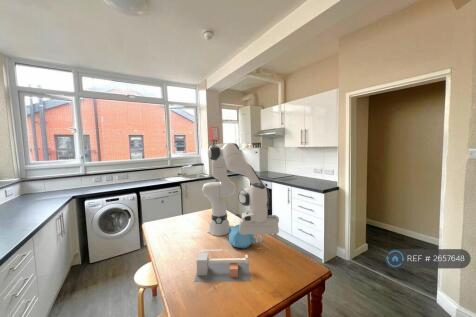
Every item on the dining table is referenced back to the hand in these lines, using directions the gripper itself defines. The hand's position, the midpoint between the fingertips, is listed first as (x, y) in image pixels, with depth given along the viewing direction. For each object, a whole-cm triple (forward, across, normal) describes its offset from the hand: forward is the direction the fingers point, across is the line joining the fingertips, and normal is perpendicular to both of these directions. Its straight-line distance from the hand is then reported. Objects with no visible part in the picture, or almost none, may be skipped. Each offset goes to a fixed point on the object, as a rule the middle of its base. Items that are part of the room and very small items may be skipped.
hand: (258, 241), depth 98 cm
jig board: (+16, +19, 0) cm, 25 cm away
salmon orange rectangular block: (+15, +13, 0) cm, 20 cm away
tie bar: (+11, +18, 0) cm, 21 cm away
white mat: (+16, +27, -16) cm, 35 cm away
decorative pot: (+16, +8, -30) cm, 35 cm away
